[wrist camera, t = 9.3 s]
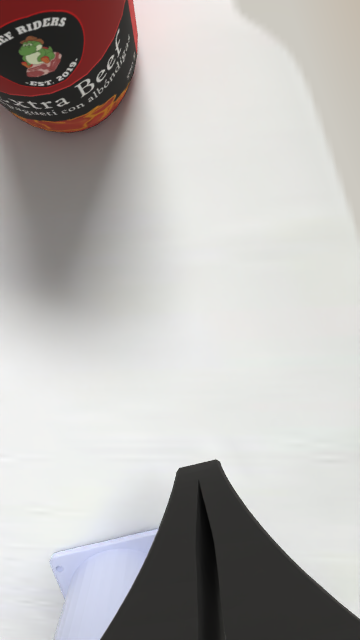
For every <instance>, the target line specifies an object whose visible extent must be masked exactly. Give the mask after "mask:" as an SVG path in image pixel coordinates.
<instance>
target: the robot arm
mask: <svg viewBox="0 0 360 640" xmlns="http://www.w3.org/2000/svg"><path fill="white" fill-rule="evenodd" d="M50 565H51V567H52V570H53V572H54V575H55V577H56V579H57V582H58V584H59V587H60V589H61V591H62V594H63V596H64V599H65V602H64V605H63V609H62V612H61V616H60V619H59V622H58V626H57V629H56V633H55V636H54V639H53V640H360V619H359V618H358V617H357V616H355V615H354V614H353V613H352V612H350V611H349V610H348V609H347V608H345V607H344V606H343V605H342V604H340V603H339V602H338V601H337V600H336V599H335V598H334V597H332V596H331V595H330V594H329V593H328V592H327V591H326V590H325V589H323V588H322V587H321V586H320V585H319V584H318V583H317V582H316V581H314V580H313V579H312V578H311V577H310V576H309V575H308V574H307V573H305V572H304V571H303V570H302V569H301V568H300V567H299V566H298V565H297V564H296V563H295V562H294V561H293V560H292V559H291V558H290V557H289V556H288V555H287V554H286V553H285V552H284V551H283V550H282V549H281V547H280V546H279V545H278V544H277V543H276V542H275V541H274V540H273V539H272V538H271V537H270V535H269V534H268V533H267V532H266V531H265V530H264V528H263V527H262V526H261V525H260V524H259V522H258V521H257V520H256V519H255V518H254V516H253V515H252V514H251V512H250V511H249V510H248V508H247V507H246V506H245V504H244V503H243V502H242V500H241V499H240V497H239V496H238V495H237V493H236V491H235V490H234V488H233V487H232V485H231V484H230V482H229V480H228V478H227V477H226V475H225V473H224V471H223V469H222V466H221V463H220V462H219V461H218V460H212V461H208V462H203V463H199V464H195V465H191V466H186V467H182V468H179V469H178V471H177V473H176V478H175V481H174V485H173V489H172V492H171V495H170V498H169V502H168V505H167V507H166V510H165V513H164V516H163V518H162V521H161V524H160V526H159V529H155V530H151V531H146V532H142V533H138V534H133V535H129V536H125V537H120V538H116V539H112V540H107V541H103V542H99V543H94V544H90V545H86V546H81V547H77V548H73V549H68V550H64V551H60V552H56V553H54V554H53V555H52V557H51V559H50Z"/></svg>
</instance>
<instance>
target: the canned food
mask: <svg viewBox="0 0 360 640" xmlns="http://www.w3.org/2000/svg"><path fill="white" fill-rule="evenodd" d="M137 39H138V34H137V26H136V19H135V12H134V4H133V0H0V103H1V104H2V105H3V106H4V107H5V108H7V109H8V110H9V111H10V112H11V113H13V114H14V115H15V116H16V117H18V118H19V119H21V120H23V121H25V122H26V123H28V124H30V125H32V126H34V127H37V128H41V129H44V130H47V131H55V132H67V133H69V132H76V131H83V130H85V129H88V128H90V127H93V126H95V125H97V124H98V123H100V122H101V121H103V120H104V119H106V118H107V117H108V116H109V115H110V114H111V113H112V112H113V111H114V110H115V109H116V108H117V106H118V105H119V103H120V101H121V100H122V98H123V97H124V95H125V93H126V91H127V88H128V86H129V83H130V80H131V78H132V75H133V73H134V67H135V62H136V57H137Z"/></svg>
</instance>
